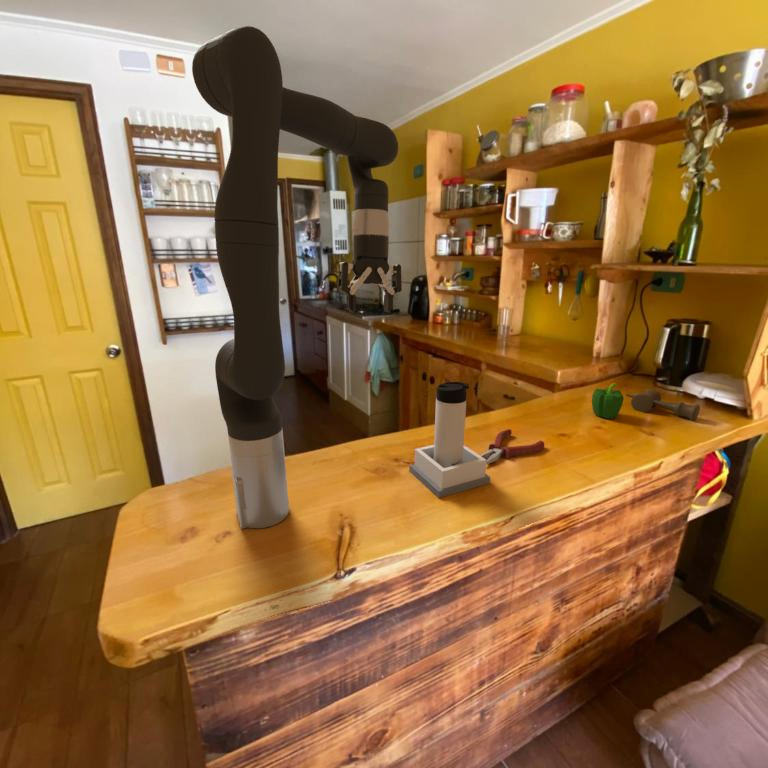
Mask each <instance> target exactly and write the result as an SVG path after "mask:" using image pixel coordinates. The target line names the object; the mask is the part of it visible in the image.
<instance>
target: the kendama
mask: <svg viewBox="0 0 768 768" xmlns="http://www.w3.org/2000/svg"><path fill="white" fill-rule="evenodd" d="M624 395H625V396H626V397H628V398H631V400H630V405H631V407H632V409H633V410H634V411H636V412H641V413H646V412H649V411H651V410H652V408H653V407H656V406H657V407H661V408H662V409H666V410H668V411H670V412H673V414H675V416H677V417H678V416H682V417H686V418H688V419H689V420H690V421H692V422H694V421H696V420H697V418H698V416H699V415H700V410H701V406H700V404H694V405H691V404H686V403H684V402H683V401H679V402H671V401H670V402H669V401H662V395H661V392H659V391H658V390H656V389H652V388H649V389H645V390H644V391H643V392H641V393H640V392H639V393H635V394H629V393H624Z"/></svg>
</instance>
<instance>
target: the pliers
mask: <svg viewBox="0 0 768 768" xmlns="http://www.w3.org/2000/svg"><path fill="white" fill-rule="evenodd" d="M512 432H513V431H512V429H508V428H507V429H504V430H502V431H499V433H497V435H496V436H495V441H494V443H490V444H489V445H488V450H487V451H485V452H483V453H482V454H479V455H480V456H481V457H483V458H484V459H486V465H488V464H491V463H494V462H496V461H498V460H499V459H500V458H505V460H510V457H515V456H517V457H518V456H527V455H533V454H537V453H539V452H541V451H543V449H545V447H546V446H545V442H544V441H543V440H539V441H537V442H535V443H533V444H527V445H518V446H517V445H516V446H503V447H502V446H501V444H500V443H502V441H503V440H505V439H506V437H507V438H509V437H511V436H512ZM510 435H511V436H510ZM508 436H509V437H508ZM504 438H505V439H504ZM502 439H503V440H502ZM499 448H500V449H499Z"/></svg>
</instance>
